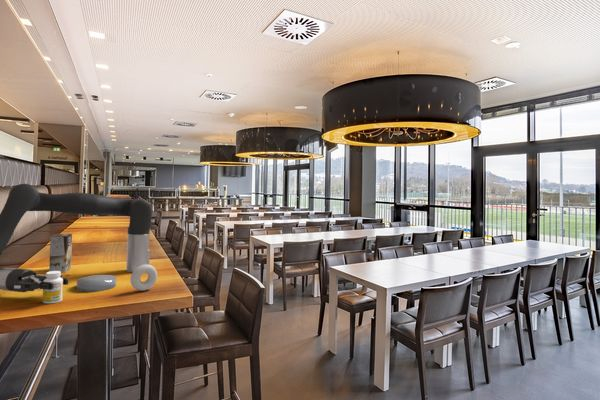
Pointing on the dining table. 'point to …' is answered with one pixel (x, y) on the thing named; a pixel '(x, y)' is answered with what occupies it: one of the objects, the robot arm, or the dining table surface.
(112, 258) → the dining table surface
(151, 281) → the donut
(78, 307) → the dining table surface
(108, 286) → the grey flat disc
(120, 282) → the dining table surface
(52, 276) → the supplement bottle
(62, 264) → the coffee box
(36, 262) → the dining table surface
